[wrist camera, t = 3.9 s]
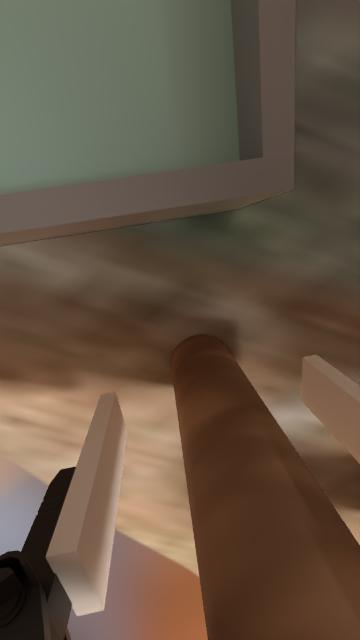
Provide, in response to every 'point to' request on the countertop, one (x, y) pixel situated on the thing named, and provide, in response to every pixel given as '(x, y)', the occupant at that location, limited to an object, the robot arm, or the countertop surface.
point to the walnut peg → (258, 512)
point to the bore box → (141, 111)
